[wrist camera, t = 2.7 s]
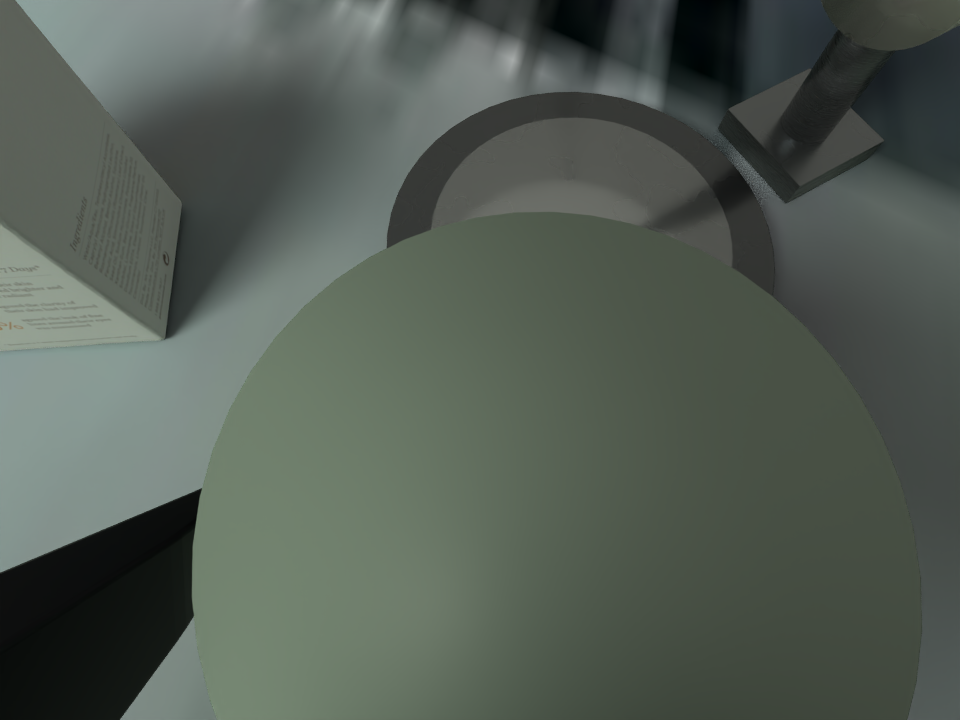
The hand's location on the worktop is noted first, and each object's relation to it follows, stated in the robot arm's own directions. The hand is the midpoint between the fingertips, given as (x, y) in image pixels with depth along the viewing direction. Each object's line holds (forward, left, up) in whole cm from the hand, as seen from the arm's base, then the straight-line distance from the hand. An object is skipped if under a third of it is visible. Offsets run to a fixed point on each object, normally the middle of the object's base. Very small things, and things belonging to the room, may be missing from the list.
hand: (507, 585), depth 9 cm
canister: (0, +1, -8) cm, 8 cm away
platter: (+6, +9, -8) cm, 14 cm away
